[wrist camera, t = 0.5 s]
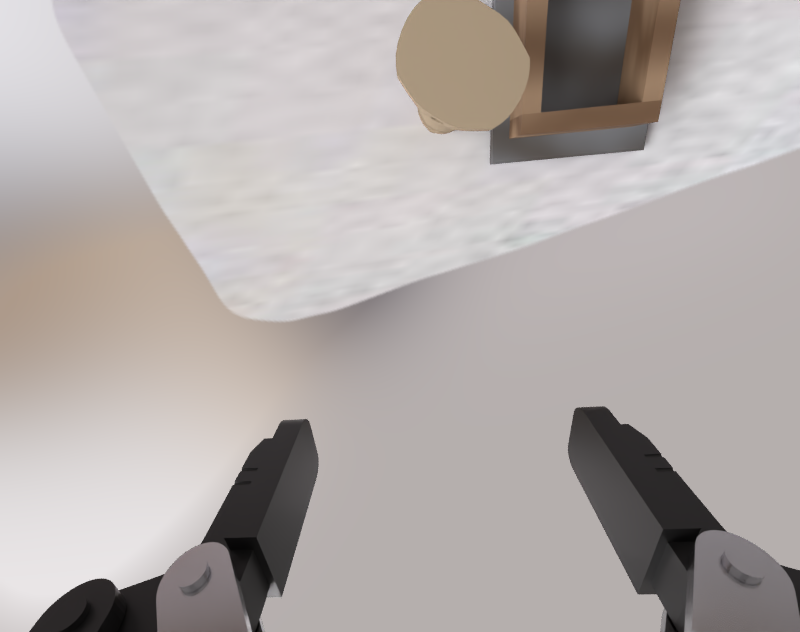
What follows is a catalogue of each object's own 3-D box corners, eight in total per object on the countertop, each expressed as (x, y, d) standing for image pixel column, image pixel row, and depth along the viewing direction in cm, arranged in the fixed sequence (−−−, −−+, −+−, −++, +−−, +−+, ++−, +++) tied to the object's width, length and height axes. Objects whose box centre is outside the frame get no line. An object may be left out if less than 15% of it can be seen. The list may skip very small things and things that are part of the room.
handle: (419, 64, 29) (426, -34, 15) (485, 103, 29) (549, 45, 16) (394, 123, 30) (380, 85, 17) (457, 158, 31) (493, 149, 18)
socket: (493, -54, 25) (509, -98, 21) (674, -79, 25) (728, -129, 21) (490, 164, 31) (502, 163, 27) (636, 150, 31) (671, 147, 26)
